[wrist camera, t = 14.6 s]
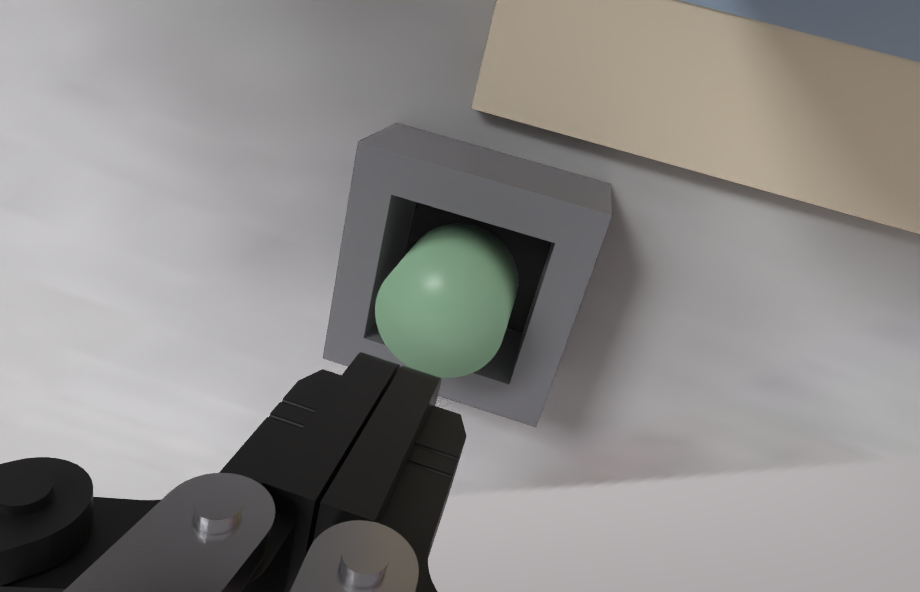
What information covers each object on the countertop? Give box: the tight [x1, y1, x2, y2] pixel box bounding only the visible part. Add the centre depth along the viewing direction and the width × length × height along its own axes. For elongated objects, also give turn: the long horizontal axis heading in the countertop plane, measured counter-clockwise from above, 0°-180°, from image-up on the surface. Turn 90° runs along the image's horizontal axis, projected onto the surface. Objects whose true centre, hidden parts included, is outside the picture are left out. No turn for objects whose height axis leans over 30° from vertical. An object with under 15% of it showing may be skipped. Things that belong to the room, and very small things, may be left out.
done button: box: [375, 224, 519, 378], centre depth 15 cm, size 3×3×2 cm
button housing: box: [323, 123, 612, 427], centre depth 17 cm, size 6×6×3 cm
